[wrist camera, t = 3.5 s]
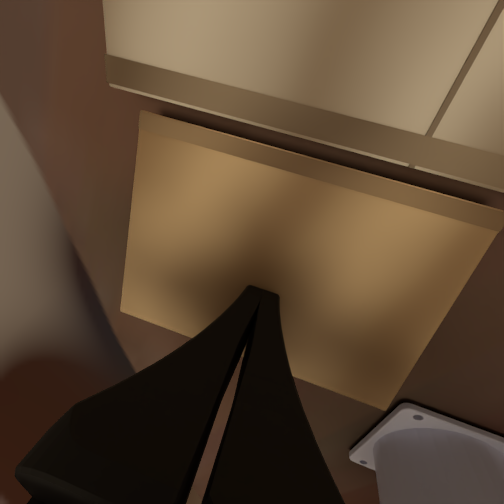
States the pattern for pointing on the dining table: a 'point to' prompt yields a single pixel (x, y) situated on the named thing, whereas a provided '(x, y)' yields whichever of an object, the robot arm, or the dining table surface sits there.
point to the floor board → (330, 72)
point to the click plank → (297, 252)
